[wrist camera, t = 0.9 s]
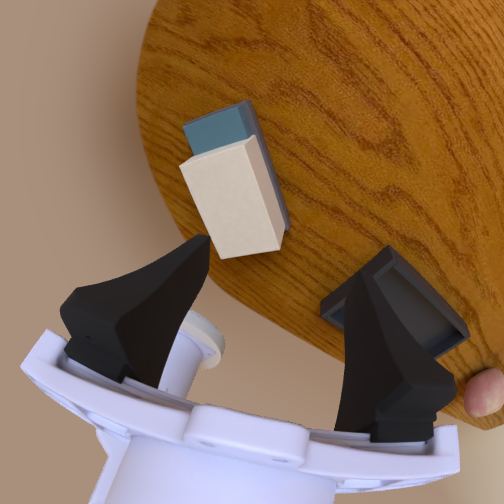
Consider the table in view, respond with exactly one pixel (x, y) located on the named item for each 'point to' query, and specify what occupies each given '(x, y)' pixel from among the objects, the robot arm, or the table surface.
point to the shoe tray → (405, 303)
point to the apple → (484, 393)
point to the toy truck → (235, 182)
